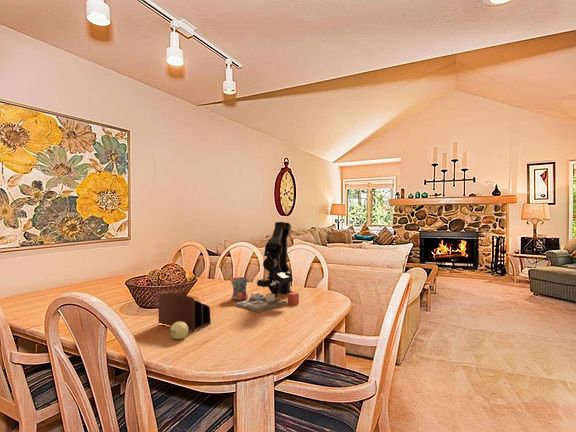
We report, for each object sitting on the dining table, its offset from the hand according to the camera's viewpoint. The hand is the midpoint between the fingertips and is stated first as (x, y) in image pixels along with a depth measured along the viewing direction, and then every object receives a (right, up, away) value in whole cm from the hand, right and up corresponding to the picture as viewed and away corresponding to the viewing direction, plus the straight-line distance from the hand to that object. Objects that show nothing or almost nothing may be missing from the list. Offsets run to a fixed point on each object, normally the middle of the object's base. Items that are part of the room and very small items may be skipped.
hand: (274, 297), depth 169 cm
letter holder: (-36, -4, -30) cm, 47 cm away
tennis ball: (-34, -4, -45) cm, 56 cm away
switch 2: (-2, -1, -2) cm, 3 cm away
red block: (+9, -3, -1) cm, 10 cm away
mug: (-19, -3, +11) cm, 22 cm away
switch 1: (-10, -1, +2) cm, 10 cm away
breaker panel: (-7, -3, -2) cm, 8 cm away
